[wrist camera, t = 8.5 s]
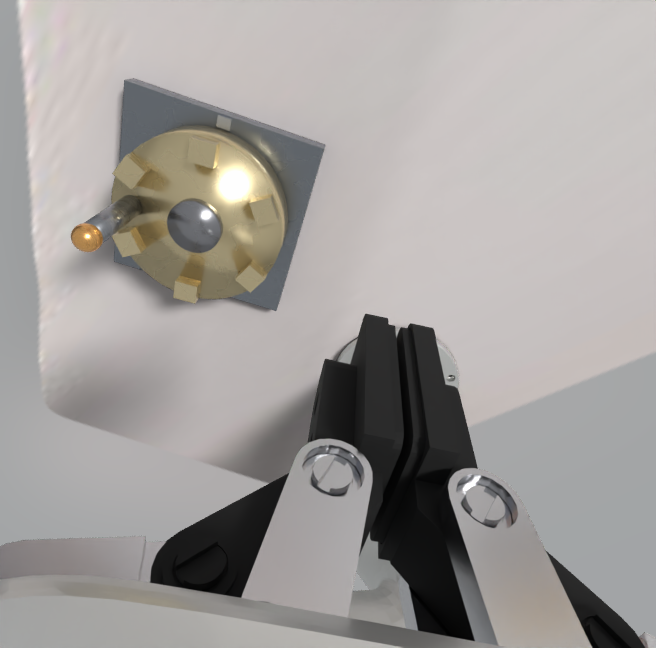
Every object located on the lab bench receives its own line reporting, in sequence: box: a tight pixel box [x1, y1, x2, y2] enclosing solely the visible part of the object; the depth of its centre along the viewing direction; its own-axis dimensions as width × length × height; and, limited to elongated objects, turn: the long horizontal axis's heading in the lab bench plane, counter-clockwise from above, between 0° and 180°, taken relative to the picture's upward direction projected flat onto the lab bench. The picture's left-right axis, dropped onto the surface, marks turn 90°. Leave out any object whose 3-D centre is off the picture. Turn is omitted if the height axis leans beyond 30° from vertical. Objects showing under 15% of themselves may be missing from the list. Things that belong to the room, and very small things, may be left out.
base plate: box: [114, 78, 325, 311], centre depth 38 cm, size 15×15×2 cm
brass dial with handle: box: [71, 125, 288, 304], centre depth 33 cm, size 13×13×10 cm
